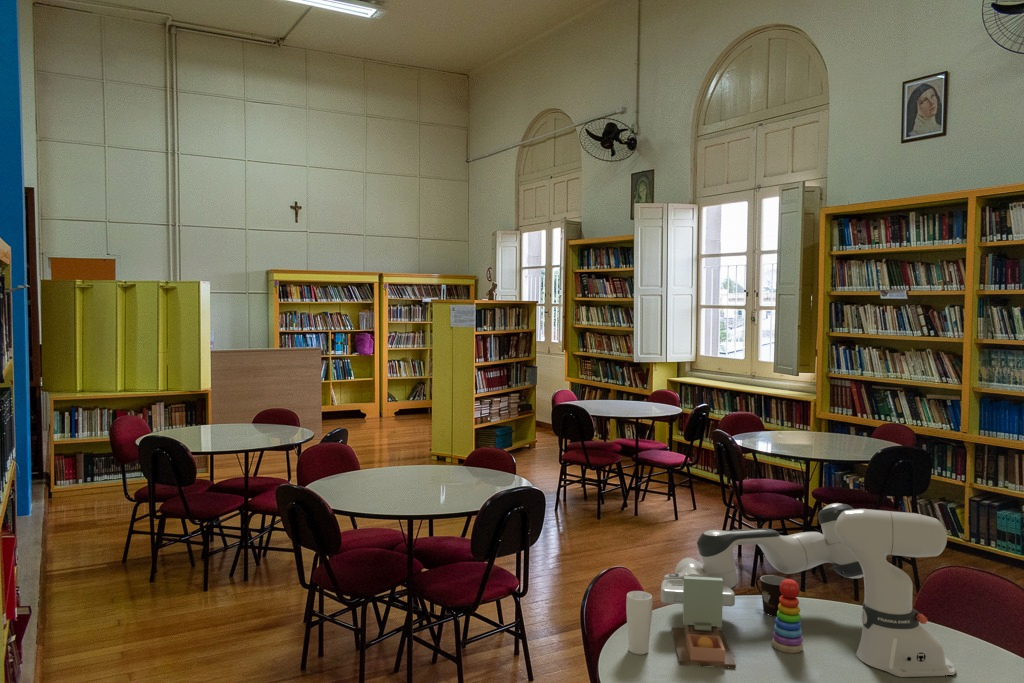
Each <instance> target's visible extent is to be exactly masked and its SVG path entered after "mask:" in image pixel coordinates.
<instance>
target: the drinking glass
mask: <svg viewBox="0 0 1024 683" xmlns="http://www.w3.org/2000/svg"><path fill="white" fill-rule="evenodd" d="M625 605H626V607H625V608H626V609H625V610H626V611H625V612H626V623H627V624H626V626H627V638H628V640H627V641H628V642H627V643H628V647H627V648H628V652H630V653H631V654H633V655H638V656H639V655H646V654H647V653H648V652H649V650H650V649H649V648H650V636H651V626H652V616H653V596H652V594H651V593H649V592H647V591H644V590H643V591H642V590H632V591H629V592H627V593H626V604H625Z"/></svg>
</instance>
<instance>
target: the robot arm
mask: <svg viewBox="0 0 1024 683" xmlns="http://www.w3.org/2000/svg"><path fill="white" fill-rule="evenodd" d="M817 514H818V515H817V517H818V524H819V525H820V526H821V530H822V533H821V532H819V531H804V532H797V533H793V534H788V535H782V534H780V533H779V531H777V530H775V529H771V528H746V529H743V528H742V529H728V530H725V529H724V530H722V529H720V530H719V529H709V530H706V531H705V530H704V531H703V532H702V533H701V534H700V536H699V537H698V539H697V541H696V545H697V549H698V552H699V555H700V560H701V562H700V561H698V560H696V558H693V557H685V558H682V559H681V560H680V561H679V562H678V563H677V565H676V567H675V571H674V572H675V573H671V574H670V573H668V574H665V575H664V577H663V580H662V582H661V585H660V586H661V587H660V602H662V603H664V604H678V605H679V604H681V605H683V588H684V576H692V577H711V578H722V580H723V604H722V607H733V606H735V605H736V604H735V603H736V595H735V592H734V591H735V589H736V588H737V586H738V585H739V578H738V572H737V565H736V560H735V556H734V548H735V546H740V545H741V546H742V545H743V546H745V545H757V546H758V547H759V548H760V549H761V551H762V553H763V555H764V556H765V559H766V560H767V562H768V563H769V564H770V565H771V567H773V568H774V569H775V570H777V571H779V572H780V573H783V574H788V575H789V574H791V575H792V574H796V573H797V574H798V573H801V572H804V571H806V570H810V569H813V568H815V567H817V566H820V565H823V564H825V563H826V564H827V563H830V564H832V565H833V566H829V570H830V571H832V570H834V572H836V574H838V575H840V576H841V577H844V578H846V579H847V578H849V579H861V578H863V582H864V583H863V585H864V601H862V609H861V622H862V630H861V638H860V640H859V644H858V648H857V651H856V657H857V658H858V659H859V660H860V661H861V662H862V663H864V664H866V665H868V666H870V667H872V668H875V669H878V670H882V671H884V672H888V673H889V674H892V675H893V676H896V677H900V678H911V677H914V678H916V677H948V676H947V675H953V674H955V675H956V668H955V665H954V664H953V663H952V661H951V660H950V659H949V658H948V657H946V656H945V654H946V653H945V651H944V647H943V645H942V644H941V641H939V639H938V638H937V637H936V636H935V635H934V634H932V633H931V632H930V631H929V630H927V629H926V628H925V627H924V626H922V625H926V624H927V623H928V621H929V620H928V618H927V617H926V616H925V615H924V614H923V613H920V612H919V611H918V610H916V609H915V608H913V591H914V590H913V586H914V584H913V581H912V578H911V577H910V576H909V574H908V573H906V572H905V571H904V570H902V569H901V568H899V567H897V566H896V565H893V564H892V563H890V562H889V561H888V560H887V556H901V557H909V558H929V557H932V558H933V557H938V556H940V555H941V554H942V553H943V552H944V550H945V548H946V546H947V542H948V536H947V531H946V528H945V526H944V525H943V524H942V522H941V521H940V520H939V519H937V518H935V517H933V516H929V515H923V514H921V513H916V512H903V511H892V510H891V511H890V510H882V509H872V508H871V509H870V508H869V509H867V508H854V507H853V506H851V505H849V504H846V503H839V502H835V503H834V502H833V503H830V504H827V505H825V506H824V507H823V508H822V509H820V510H819V511H818V513H817ZM945 675H946V676H945Z"/></svg>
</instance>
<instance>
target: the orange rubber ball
mask: <svg viewBox="0 0 1024 683" xmlns="http://www.w3.org/2000/svg"><path fill="white" fill-rule="evenodd" d="M697 646H698V647H705V648H713V643H712V641H711V639H710V638H708V637H701V638H699V640H698V642H697Z"/></svg>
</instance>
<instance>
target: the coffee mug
mask: <svg viewBox="0 0 1024 683" xmlns="http://www.w3.org/2000/svg"><path fill="white" fill-rule="evenodd" d="M785 579H788V578H787V577H785V576H780V575H774V574H767V575H762V576H760V577H759V576H758V577H757V578H756V579H755V585H756V588H757V590H758V592H759V593H760V595H761V599H762V608H763V613H764V612H765V613H767V614H769V615H772V616H771V617H773V616H777V611H778V610H779V609H778V605H779V604H780V601H779V598H780V596H782V594H781V592H780V584H781V582H782V581H783V580H785ZM758 581H760V586H759V583H758ZM765 613H764V614H765ZM767 614H766V615H767ZM769 615H768V616H769Z"/></svg>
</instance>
